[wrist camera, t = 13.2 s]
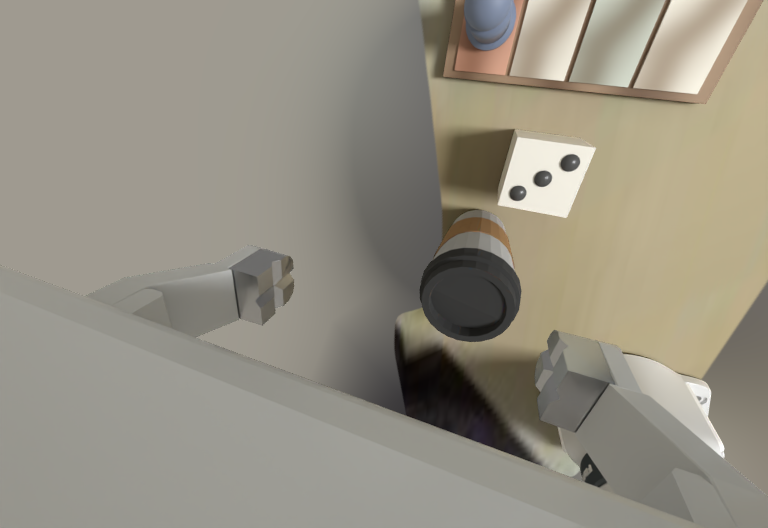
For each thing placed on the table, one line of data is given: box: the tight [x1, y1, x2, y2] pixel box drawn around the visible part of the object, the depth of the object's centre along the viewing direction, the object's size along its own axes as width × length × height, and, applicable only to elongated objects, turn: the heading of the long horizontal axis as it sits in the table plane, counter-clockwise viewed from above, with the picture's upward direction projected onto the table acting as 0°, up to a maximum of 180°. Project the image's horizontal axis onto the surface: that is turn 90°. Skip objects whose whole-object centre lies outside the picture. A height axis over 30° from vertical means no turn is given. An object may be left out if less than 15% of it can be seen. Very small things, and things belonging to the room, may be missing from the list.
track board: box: [443, 0, 763, 104], centre depth 26 cm, size 22×8×1 cm, turn 86°
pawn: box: [464, 0, 516, 51], centre depth 23 cm, size 4×4×9 cm
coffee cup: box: [420, 210, 521, 342], centre depth 31 cm, size 8×8×15 cm
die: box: [498, 129, 596, 218], centre depth 30 cm, size 6×6×6 cm
